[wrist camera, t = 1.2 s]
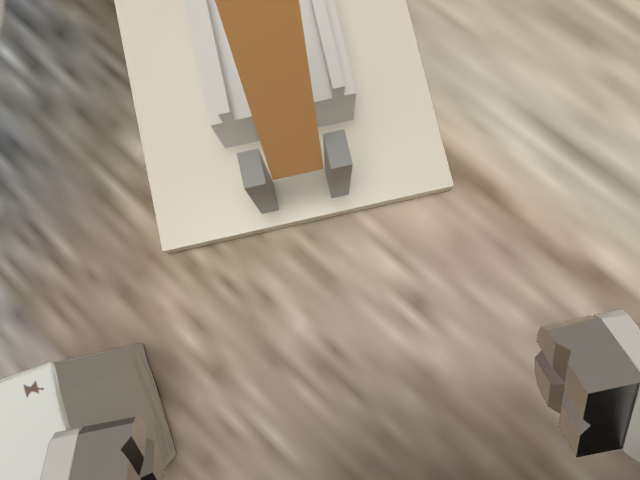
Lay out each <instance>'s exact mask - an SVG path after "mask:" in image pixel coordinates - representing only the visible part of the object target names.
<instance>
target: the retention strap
mask: <svg viewBox="0 0 640 480" xmlns="http://www.w3.org/2000/svg"><path fill="white" fill-rule="evenodd" d="M215 3H216V6H217V9H218V12H219V15H220V18H221V21H222V24H223V28H224V31H225V34H226V37H227V40H228V43H229V46H230V49H231V52H232V56H233V59H234V62H235V65H236V68H237V71H238V74H239V77H240V80H241V84H242V87H243V90H244V93H245V96H246V99H247V102H248V105H249V108H250V112H251V115H252V118H253V121H254V124H255V127H256V130H257V133H258V136H259V140H260V143H261V146H262V149H263V152H264V155H265V158H266V161H267V165H268V168H269V171H270V174H271V177H272V180H277V179H281V178H286V177H290V176H294V175H299V174H303V173H308V172H312V171H317V170H321V169H324V166H323V160H322V153H321V146H320V139H319V133H318V126H317V119H316V112H315V105H314V99H313V92H312V85H311V78H310V71H309V65H308V58H307V51H306V44H305V37H304V31H303V24H302V17H301V10H300V4H299V0H215Z"/></svg>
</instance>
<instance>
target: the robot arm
mask: <svg viewBox="0 0 640 480" xmlns="http://www.w3.org/2000/svg"><path fill="white" fill-rule="evenodd" d="M537 343H538V344H539V346H540V348H541V351H540V353H539V354H538V355H537V356H536V357H535V375H536V380H537V384H538V387H539V389H540V392H541V395H542V396H543V398H544V400H545V402H546V404H547V406H548V407H550V408H552V409H553V410H555V411H557V412H558V413H560V421H559V428H560V429H561V431H562V433H563V435H564V437H565V438H566V440H567V442H568V444H569V445H570V447H571V449H572V451H573V453H574V454H575V456H576V457H580V456H585V455H590V454H596V453H601V452H606V451H611V450H616V449H621V448H623V450H622V451H623V452H625V453H626V454H628V455H629V456H630V457H632V458H633V459H634V460H636V461H637V462H639V463H640V328H639V327H638V326H637V325H636V323H635V322H634V321H633V320H632V318H631V317H630V316H629V315H628V314H627V313H626V312H625V311H623V310H621V309H620V310H615V311H611V312H606V313H602V314H597V315H593V316H591V315H590V316H586V317H581V318H577V319H573V320H569V321H564V322H560V323H556V324H551V325H547V326H543V327H541V328H540V329H539V331H538V334H537ZM146 432H147V426H146V424H145V423H144V421H143V419H142V418H141V416H136V417H131V418H126V419H120V420H115V421H110V422H105V423H100V424H94V425H89V426H84V427H80V428H75V429H70V430H65V431H60V432H55V433H54V435H53V437H52V438H51V440H50V441H49V445H48V449H47V453H46V457H45V461H44V465H43V469H42V473H41V477H40V480H164V472H163V462H162V458H161V455H160V451H159V448H158V447H157V445H156V443H155V441H153V440H151V439H149V438H146Z"/></svg>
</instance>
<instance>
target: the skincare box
mask: <svg viewBox="0 0 640 480" xmlns="http://www.w3.org/2000/svg"><path fill="white" fill-rule="evenodd" d="M136 416H141V418H142V419H143V421H144V423H145V424H146V426H147V432H146V438H149V439H151V440H153V441H155V443H156V445H157V447H158V448H159V451H160V455H161V458H162V462H163V470H164V468H165V467H166V466H167V465H168V464H169V463H170V462H171V461H172V459H173V458H174V457H175V456H176V451H175V447H174V443H173V440H172V437H171V433H170V430H169V427H168V424H167V420H166V417H165V413H164V410H163V407H162V403H161V400H160V397H159V394H158V390H157V387H156V384H155V381H154V378H153V375H152V372H151V369H150V367H149V364H148V361H147V357H146V354H145V350H144V346H143V344H134V345H130V346H126V347H122V348H117V349H113V350H108V351H103V352H99V353H94V354H90V355H85V356H81V357H76V358H71V359H67V360H62V361H56V362H48V363H45V364H42V365H40V366H37V367H34V368H31V369H28V370H25V371H22V372H19V373H16V374H14V375H11V376H8V377H6V378H3V379H0V480H40V477H41V473H42V469H43V465H44V461H45V457H46V453H47V449H48V445H49V441H50V440H51V438H52V437H53V435H54V433H55V432H60V431H65V430H70V429H75V428H80V427H84V426H89V425H94V424H100V423H105V422H110V421H115V420H120V419H126V418H131V417H136Z"/></svg>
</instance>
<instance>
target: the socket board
mask: <svg viewBox="0 0 640 480" xmlns="http://www.w3.org/2000/svg"><path fill="white" fill-rule="evenodd" d="M114 1H115V7H116V12H117V17H118V22H119V27H120V32H121V38H122V43H123V48H124V53H125V58H126V64H127V69H128V74H129V79H130V84H131V90H132V95H133V100H134V105H135V110H136V116H137V121H138V126H139V131H140V136H141V141H142V147H143V152H144V157H145V162H146V167H147V173H148V178H149V183H150V188H151V193H152V199H153V204H154V209H155V214H156V219H157V225H158V230H159V235H160V240H161V245H162V250H163V252H166V253H168V254H170V253H174V252H178V251H183V250H187V249H192V248H196V247H201V246H205V245H209V244H214V243H218V242H223V241H227V240H232V239H236V238H241V237H245V236H249V235H254V234H258V233H263V232H267V231H272V230H276V229H280V228H285V227H289V226H294V225H298V224H303V223H307V222H311V221H316V220H320V219H325V218H329V217H334V216H338V215H342V214H347V213H351V212H356V211H360V210H365V209H369V208H373V207H378V206H382V205H387V204H391V203H396V202H400V201H405V200H409V199H413V198H418V197H422V196H427V195H431V194H436V193H440V192H444V191H449V190H450V189H451V188H452V187H453V186H454V185H453V181H452V177H451V173H450V170H449V166H448V162H447V158H446V154H445V150H444V146H443V143H442V139H441V135H440V131H439V127H438V123H437V119H436V115H435V112H434V108H433V104H432V100H431V96H430V92H429V88H428V84H427V81H426V77H425V73H424V69H423V65H422V61H421V57H420V54H419V50H418V46H417V42H416V38H415V34H414V30H413V26H412V23H411V19H410V15H409V11H408V7H407V3H406V0H299V4H300V10H301V17H302V24H303V31H304V37H305V44H306V51H307V58H308V65H309V71H310V78H311V85H312V92H313V99H314V105H315V112H316V119H317V126H318V133H319V139H320V146H321V153H322V160H323V166H324V169H321V170H317V171H312V172H308V173H303V174H299V175H294V176H290V177H286V178H281V179H277V180H272V177H271V174H270V171H269V168H268V165H267V161H266V158H265V155H264V152H263V149H262V146H261V143H260V140H259V136H258V133H257V130H256V127H255V124H254V121H253V118H252V115H251V112H250V108H249V105H248V102H247V99H246V96H245V93H244V90H243V87H242V84H241V80H240V77H239V74H238V71H237V68H236V65H235V62H234V59H233V56H232V52H231V49H230V46H229V43H228V40H227V37H226V34H225V31H224V28H223V24H222V21H221V18H220V15H219V12H218V9H217V6H216V3H215V0H114Z"/></svg>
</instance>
